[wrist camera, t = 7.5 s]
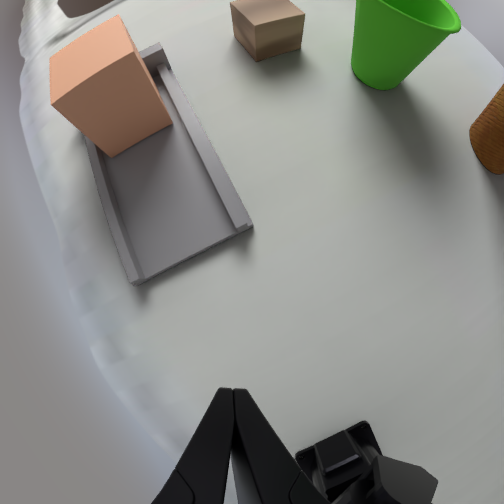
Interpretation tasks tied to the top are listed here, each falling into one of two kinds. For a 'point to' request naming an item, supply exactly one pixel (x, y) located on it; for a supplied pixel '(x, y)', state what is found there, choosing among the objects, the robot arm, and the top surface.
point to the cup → (397, 37)
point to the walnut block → (267, 26)
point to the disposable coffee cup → (490, 134)
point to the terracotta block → (107, 88)
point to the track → (166, 187)
